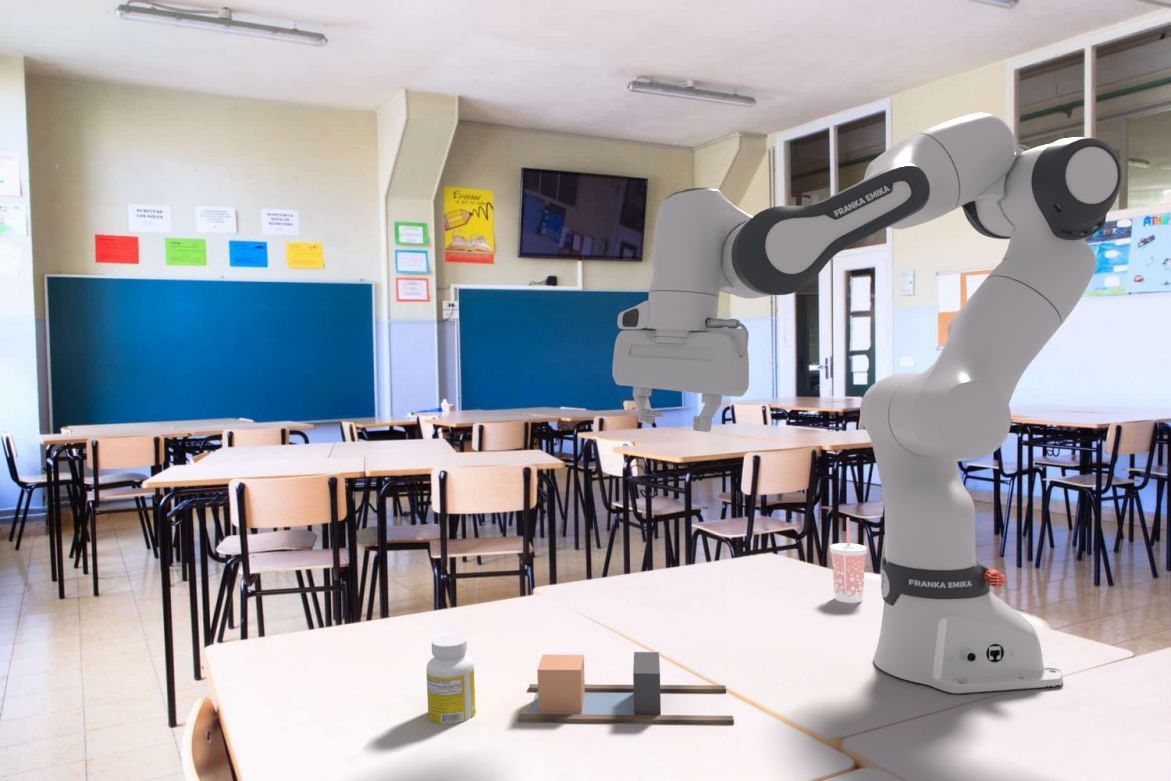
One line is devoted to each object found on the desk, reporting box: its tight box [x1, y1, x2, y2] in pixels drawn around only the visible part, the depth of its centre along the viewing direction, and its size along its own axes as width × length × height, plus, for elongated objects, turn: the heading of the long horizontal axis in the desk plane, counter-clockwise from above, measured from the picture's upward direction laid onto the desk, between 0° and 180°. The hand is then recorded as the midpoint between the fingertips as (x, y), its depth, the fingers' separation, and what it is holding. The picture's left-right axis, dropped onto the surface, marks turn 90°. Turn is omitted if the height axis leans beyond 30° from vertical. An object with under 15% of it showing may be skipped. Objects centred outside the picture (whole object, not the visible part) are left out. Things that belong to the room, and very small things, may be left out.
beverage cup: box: [829, 517, 868, 604], centre depth 143 cm, size 6×6×14 cm
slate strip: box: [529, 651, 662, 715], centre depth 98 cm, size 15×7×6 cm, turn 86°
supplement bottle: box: [426, 634, 476, 725], centre depth 97 cm, size 5×5×10 cm
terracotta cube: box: [537, 654, 586, 713], centre depth 99 cm, size 5×5×5 cm
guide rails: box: [517, 683, 735, 725], centre depth 98 cm, size 24×10×2 cm, turn 86°
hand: (672, 427), depth 106 cm, fingers open, 8 cm apart
